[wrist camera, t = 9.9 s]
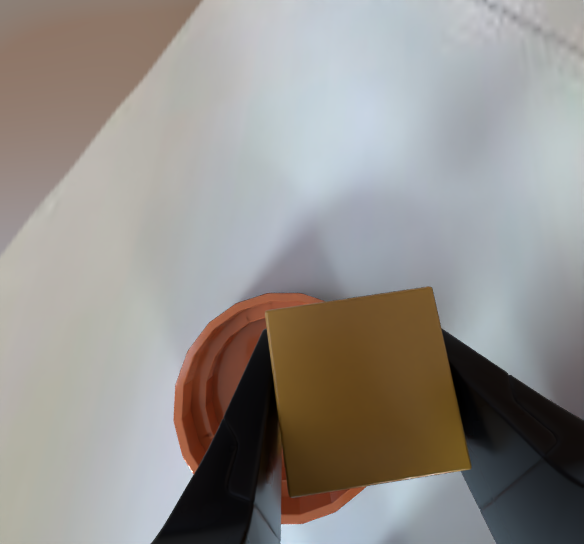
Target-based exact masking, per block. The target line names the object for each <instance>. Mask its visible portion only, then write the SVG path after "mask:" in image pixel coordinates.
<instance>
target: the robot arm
mask: <svg viewBox="0 0 584 544" xmlns="http://www.w3.org/2000/svg"><path fill="white" fill-rule="evenodd" d="M441 330H442V334H443V339H444V343H445V348H446V352H447V357H448V361H449V366H450V370H451V375H452V379H453V384H454V388H455V393H456V397H457V402H458V406H459V411H460V415H461V420H462V424H463V429H464V434H465V438H466V443H467V447H468V452H469V456H470V461H471V465H472V468H471V469H470V470H464V471H461V473H462V475H463V477H464V479H465V481H466V483H467V485H468V487H469V489H470V491H471V493H472V495H473V497H474V499H475V501H476V503H477V505H478V507H479V509H481V510H480V511H481V513H482V515H483V518H484V520H485V522H486V524H487V526H488V528H489V530H490V532H491V534H492V536H493V538H494V540H495V542H496V544H584V420H582V419H580V418H579V417H577V416H575V415H573V414H572V413H570V412H568V411H567V410H565V409H563V408H562V407H560V406H558V405H557V404H555V403H553V402H552V401H550V400H548V399H547V398H545V397H544V396H542V395H540V394H539V393H537V392H536V391H534V390H533V389H531V388H530V387H528V386H527V385H525V384H523V383H522V382H521V381H519V380H518V379H516V378H515V377H513V376H512V375H508V373H507V372H506V371H504V370H503V369H501V368H500V367H498V366H497V365H495V364H494V363H492V362H491V361H489V360H488V359H486V358H485V357H483V356H482V355H480V354H479V353H477V352H476V351H474V350H473V349H471V348H470V347H468V346H467V345H466V344H464V343H463V342H461V341H460V340H458V339H457V338H455V337H454V336H452V335H451V334H449V333H448V332H446V331H445V330H443V329H442V328H441ZM281 480H282V442H281V434H280V427H279V419H278V411H277V404H276V396H275V388H274V381H273V373H272V365H271V358H270V350H269V342H268V335H267V329H264V330H263V331H262V333H261V335H260V338H259V340H258V342H257V344H256V346H255V348H254V351H253V353H252V355H251V357H250V359H249V362H248V364H247V366H246V368H245V370H244V373H243V375H242V377H241V379H240V381H239V384H238V386H237V388H236V390H235V392H234V395H233V397H232V399H231V401H230V403H229V405H228V408H227V410H226V412H225V414H224V419H222V421H221V423H220V425H219V427H218V429H217V432H216V434H215V436H214V438H213V440H212V442H211V444H210V446H209V448H208V450H207V452H206V453H205V455H204V457H203V459H202V461H201V463H200V464H199V466H198V468H197V470H196V471H195V473H194V475H193V477H192V478H191V480H190V482H189V483H188V485H187V487H186V489H185V490H184V492H183V494H182V496H181V497H180V499H179V501H178V502H177V504H176V506H175V508H174V509H173V511H172V513H171V514H170V516H169V518H168V519H167V521H166V523H165V524H164V526H163V527H162V529H161V531H160V532H159V533H158V535H157V536H156V538H155V539H154V540H153V542H152V543H151V544H280V541H281Z"/></svg>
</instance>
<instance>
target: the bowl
mask: <svg viewBox="0 0 584 544" xmlns="http://www.w3.org/2000/svg"><path fill="white" fill-rule="evenodd" d="M320 302H326V301H324V300H321V299H318V298H314V297H311V296H308V295H305V294H302V293H266V294H263V295H260V296H257V297H254V298H251V299H248V300H245V301H242V302H239V303H236V304H234V305H233V306H232V307H230V308H229V309H227V310H226V311H225V312H223V313H222V314H221V315H219V316H218V317H216V318H215V319H214V320H212V321H211V322H209V323H208V325H207V326H206V327H205V329H204V330H203V331H202V333H201V334H200V335H199V337H198V338H197V339H196V340H195V342H194V343H193V344H192V346H191V347H190V348H189V350H188V352H187V354H186V357H185V360H184V363H183V365H182V368H181V371H180V374H179V376H178V379H177V382H176V385H175V402H174V425H175V428H176V432H177V436H178V440H179V444H180V448H181V452H182V456H183V458H184V460H185V461H186V463H187V465H188V466H189V468H190V469H191V471H192V473H193V474H194V473H195V471H196V470H197V468H198V466H199V464H200V463H201V461H202V459H203V457H204V455H205V453H206V452H207V450H208V448H209V446H210V444H211V442H212V440H213V438H214V436H215V434H216V432H217V429H218V427H219V425H220V423H221V421H222V419H224V414H225V412H226V410H227V408H228V405H229V403H230V401H231V399H232V397H233V395H234V392H235V390H236V388H237V386H238V384H239V381H240V379H241V377H242V375H243V373H244V370H245V368H246V366H247V364H248V362H249V359H250V357H251V355H252V353H253V351H254V348H255V346H256V344H257V342H258V340H259V338H260V335H261V333H262V331H263V330H264V329H267V327H266V319H265V311H267V310H272V309H279V308H286V307H293V306H299V305H306V304H313V303H320ZM365 487H366V486H364V487H358V488H351V489H345V490H339V491H333V492H326V493H320V494H314V495H308V496H301V497H295V498H290V496H289V494H288V488H287V480H286V473H285V465H284V457H283V450H282V480H281V524H301V523H302V524H304V523H306V522H309V521H312V520H315V519H317V518H320V517H323V516H326V515H329V514H331V513H334V512H336V511H338V510H339V509H340V508H341V507H342V506H344V505H345V504H346V503H347V502H349V501H350V500H351V499H352V498H354V497H355V496H356V495H357V494H358V493H360V492H361V491H362V490H363V489H364V488H365Z"/></svg>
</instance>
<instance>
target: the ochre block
mask: <svg viewBox="0 0 584 544" xmlns="http://www.w3.org/2000/svg"><path fill="white" fill-rule="evenodd" d="M265 319H266V327H267V335H268V342H269V350H270V358H271V365H272V373H273V381H274V388H275V396H276V404H277V411H278V419H279V427H280V434H281V442H282V450H283V457H284V465H285V473H286V480H287V488H288V494H289V496H290V498H295V497H301V496H308V495H314V494H320V493H326V492H333V491H339V490H345V489H351V488H358V487H364V486H370V485H376V484H383V483H389V482H395V481H401V480H407V479H414V478H420V477H426V476H432V475H439V474H445V473H451V472H457V471H464V470H470V469H471V468H472V465H471V461H470V456H469V452H468V447H467V443H466V438H465V434H464V429H463V424H462V420H461V415H460V411H459V406H458V402H457V397H456V393H455V388H454V384H453V379H452V375H451V370H450V366H449V361H448V357H447V352H446V348H445V343H444V339H443V334H442V330H441V325H440V321H439V316H438V312H437V307H436V303H435V298H434V294H433V289H432V287H429V286H428V287H421V288H414V289H408V290H401V291H394V292H387V293H381V294H374V295H367V296H360V297H354V298H347V299H340V300H333V301H326V302H320V303H313V304H306V305H299V306H293V307H286V308H279V309H272V310H267V311H265Z"/></svg>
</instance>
